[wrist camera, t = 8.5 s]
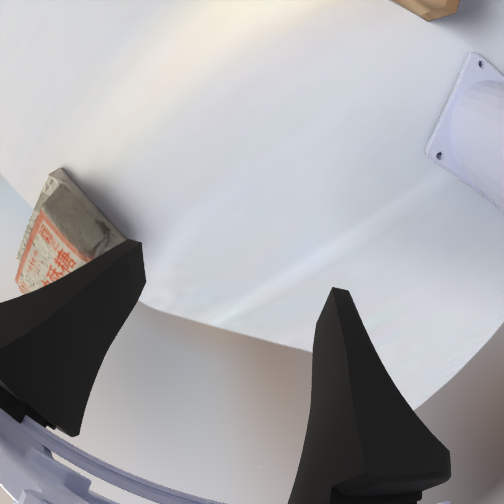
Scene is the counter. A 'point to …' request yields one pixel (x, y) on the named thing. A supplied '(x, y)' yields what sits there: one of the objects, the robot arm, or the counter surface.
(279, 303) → the counter surface
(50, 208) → the packaged product
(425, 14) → the carton
